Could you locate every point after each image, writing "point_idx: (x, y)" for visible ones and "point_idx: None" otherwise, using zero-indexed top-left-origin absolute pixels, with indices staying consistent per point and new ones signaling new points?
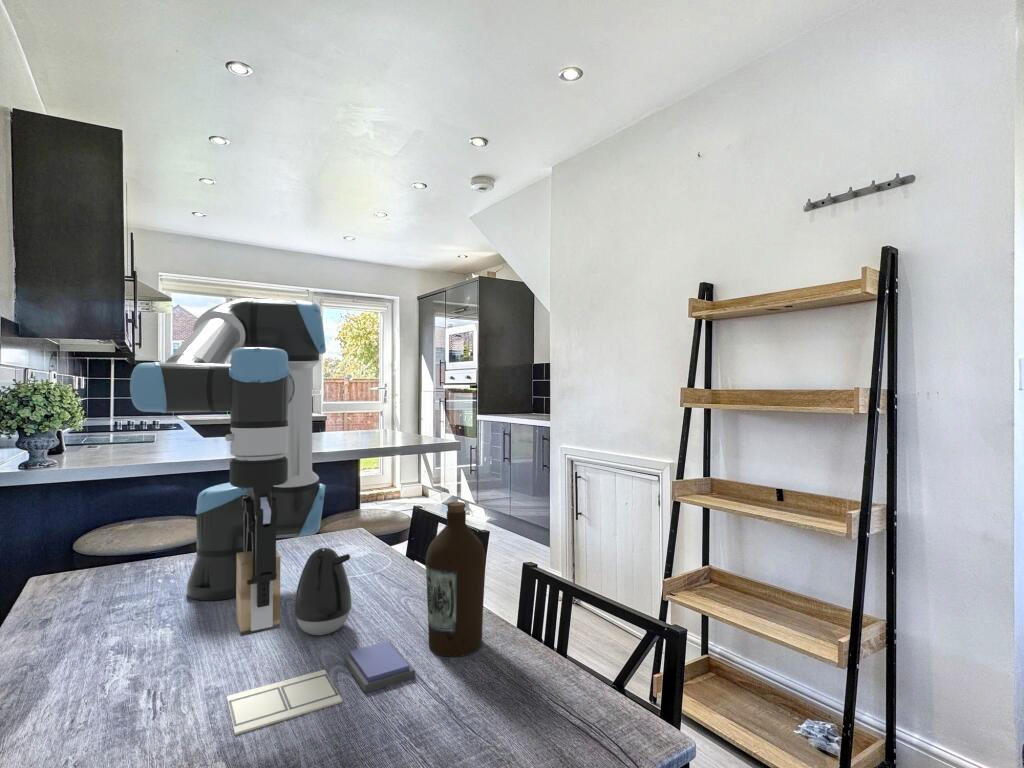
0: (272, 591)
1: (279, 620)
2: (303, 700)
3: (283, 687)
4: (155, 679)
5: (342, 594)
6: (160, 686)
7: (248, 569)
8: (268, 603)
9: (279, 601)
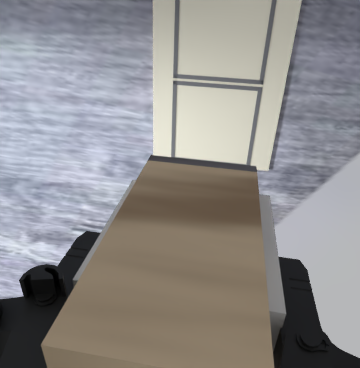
0: (279, 273)
1: (256, 177)
2: (249, 52)
3: (178, 73)
4: (48, 220)
5: None
6: (71, 218)
7: None
8: (303, 268)
9: (258, 212)
